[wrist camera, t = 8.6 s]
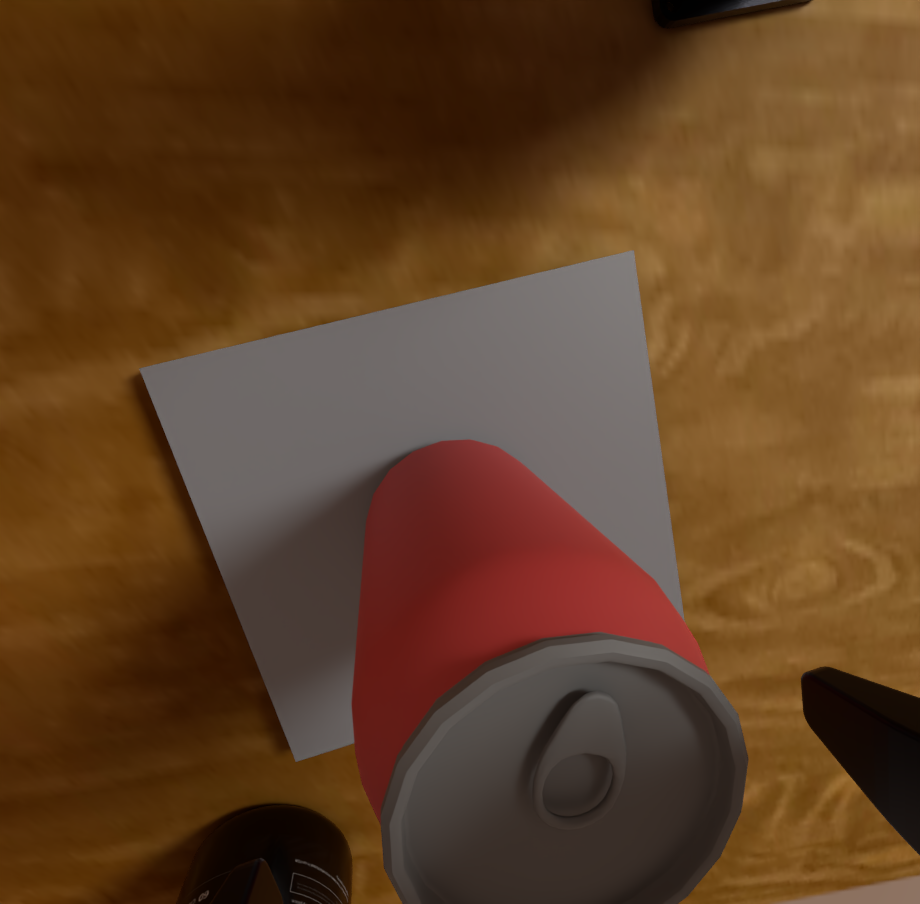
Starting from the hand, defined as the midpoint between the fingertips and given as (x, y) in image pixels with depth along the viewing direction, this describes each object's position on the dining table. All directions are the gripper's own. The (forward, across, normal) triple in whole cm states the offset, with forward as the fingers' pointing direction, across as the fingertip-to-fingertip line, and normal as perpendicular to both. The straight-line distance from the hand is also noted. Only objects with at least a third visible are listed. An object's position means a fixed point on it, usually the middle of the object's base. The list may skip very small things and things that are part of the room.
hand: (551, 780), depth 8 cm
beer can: (+11, 0, 0) cm, 11 cm away
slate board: (+12, 0, 0) cm, 12 cm away
